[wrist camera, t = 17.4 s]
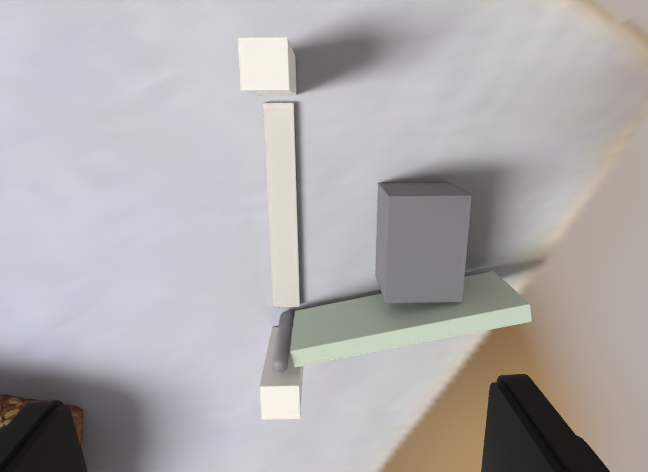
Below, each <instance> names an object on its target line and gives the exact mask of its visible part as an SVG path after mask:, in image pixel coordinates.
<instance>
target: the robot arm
mask: <svg viewBox="0 0 648 472" xmlns="http://www.w3.org/2000/svg"><path fill="white" fill-rule="evenodd" d="M0 472H87V468H86V465H85V461H84V457H83V454H82V450H81V446H80V442H79V439H78V435H77V431H76V427H75V424H74V420H73V416H72V412H71V410H70V409H69V408H68V407H64V405H63V403H62V402H61V401H58V400H54V401H37V402H30V403H28V404H27V405H25V406H24V407H23V408H22V410H21V411H20V412H19V413H18V414H17V415H16V416H15V417H14V418H13V419H12V421H11V422H10V423H9V424H8V425H7V426H6V427H5V428H4V429H3V430H2V432H1V433H0ZM481 472H610V471H609V470H608V468H607V467H606V466H605V465H604V464H603V462H602V461H601V460H600V459H599V457H598V456H597V455H596V454H595V452H594V451H593V450H592V449H591V448H590V446H589V445H588V444H587V443H586V442H585V441H584V440H583V439H582V438H581V437H579V436H577V435H575V433H574V432H573V431H572V430H571V428H570V427H569V426H568V425H567V423H566V422H565V421H564V420H563V418H562V417H561V416H560V415H559V413H558V412H557V411H556V410H555V408H554V407H553V406H552V405H551V403H550V402H549V401H548V400H547V398H546V397H545V396H544V395H543V393H542V392H541V391H540V390H539V388H538V387H537V386H536V385H535V383H534V382H533V381H532V380H531V378H530V377H529V376H528V375H526V374H516V375H501V376H499V377H498V379H497V382H495V383H491V385H490V390H489V400H488V409H487V420H486V430H485V440H484V449H483V459H482V470H481Z"/></svg>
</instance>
